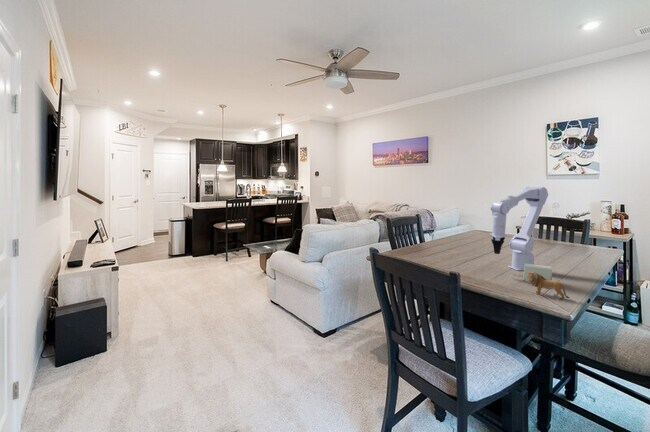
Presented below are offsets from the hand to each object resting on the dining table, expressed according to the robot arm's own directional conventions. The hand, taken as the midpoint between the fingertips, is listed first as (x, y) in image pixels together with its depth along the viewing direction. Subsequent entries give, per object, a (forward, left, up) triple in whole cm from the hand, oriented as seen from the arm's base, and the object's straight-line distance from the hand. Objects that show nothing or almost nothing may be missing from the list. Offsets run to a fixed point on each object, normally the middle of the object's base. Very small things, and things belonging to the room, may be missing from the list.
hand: (497, 252), depth 159 cm
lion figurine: (-1, +32, -11) cm, 34 cm away
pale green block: (-11, +14, -10) cm, 21 cm away
